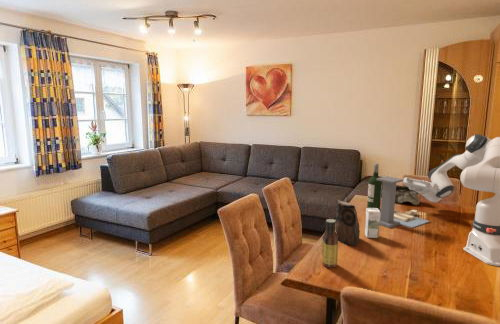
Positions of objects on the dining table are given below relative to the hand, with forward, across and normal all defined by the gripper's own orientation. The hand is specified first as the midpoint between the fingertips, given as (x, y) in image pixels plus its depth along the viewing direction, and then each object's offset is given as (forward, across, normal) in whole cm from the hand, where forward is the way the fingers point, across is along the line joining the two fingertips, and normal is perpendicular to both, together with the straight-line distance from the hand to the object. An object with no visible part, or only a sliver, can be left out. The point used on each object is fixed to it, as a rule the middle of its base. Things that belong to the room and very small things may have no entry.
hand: (414, 179), depth 197 cm
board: (-6, 0, -22) cm, 22 cm away
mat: (-2, 0, -25) cm, 25 cm away
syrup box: (+30, -7, -43) cm, 53 cm away
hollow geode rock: (-29, +22, -10) cm, 38 cm away
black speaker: (+42, -5, -50) cm, 65 cm away
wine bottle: (-4, +21, -24) cm, 32 cm away
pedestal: (+10, 0, -32) cm, 33 cm away
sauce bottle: (+65, -17, -64) cm, 93 cm away
